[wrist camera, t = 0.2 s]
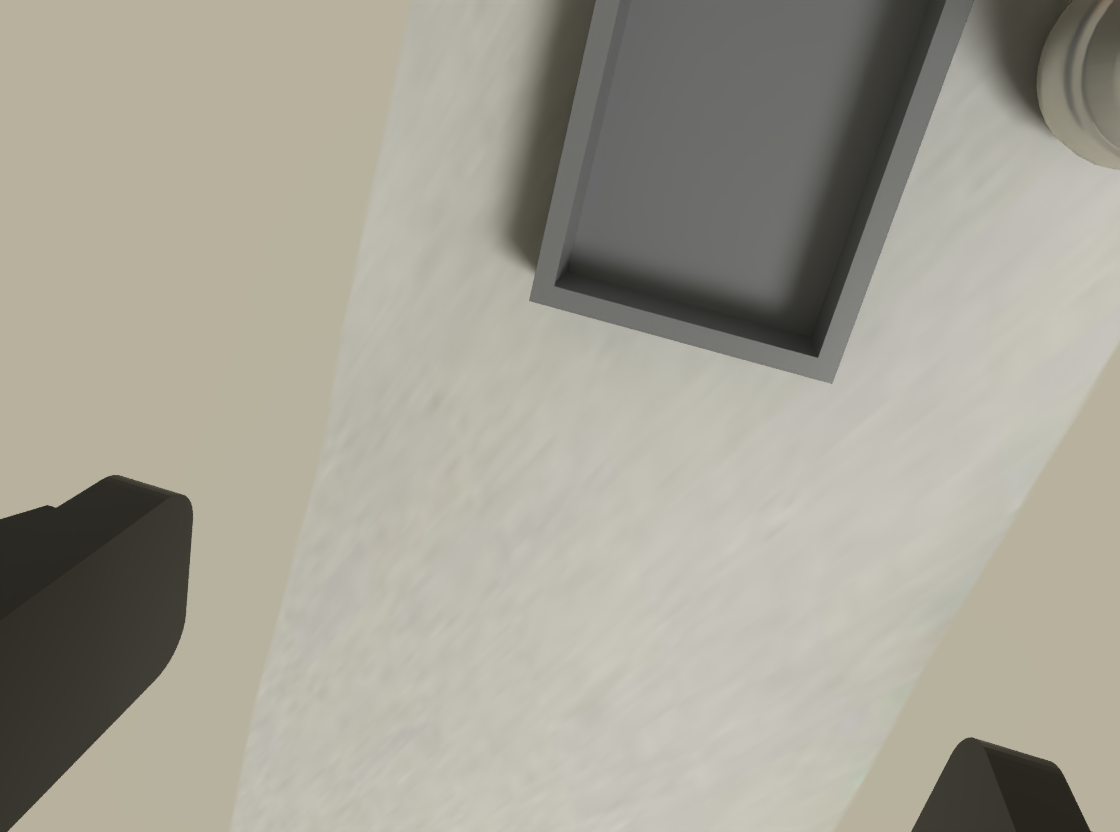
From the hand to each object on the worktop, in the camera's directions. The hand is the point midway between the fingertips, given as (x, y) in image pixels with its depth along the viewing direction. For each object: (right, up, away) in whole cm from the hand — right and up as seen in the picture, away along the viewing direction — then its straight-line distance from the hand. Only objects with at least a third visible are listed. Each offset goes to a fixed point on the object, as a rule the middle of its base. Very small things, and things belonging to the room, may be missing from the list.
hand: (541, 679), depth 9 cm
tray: (+7, +14, +24) cm, 29 cm away
